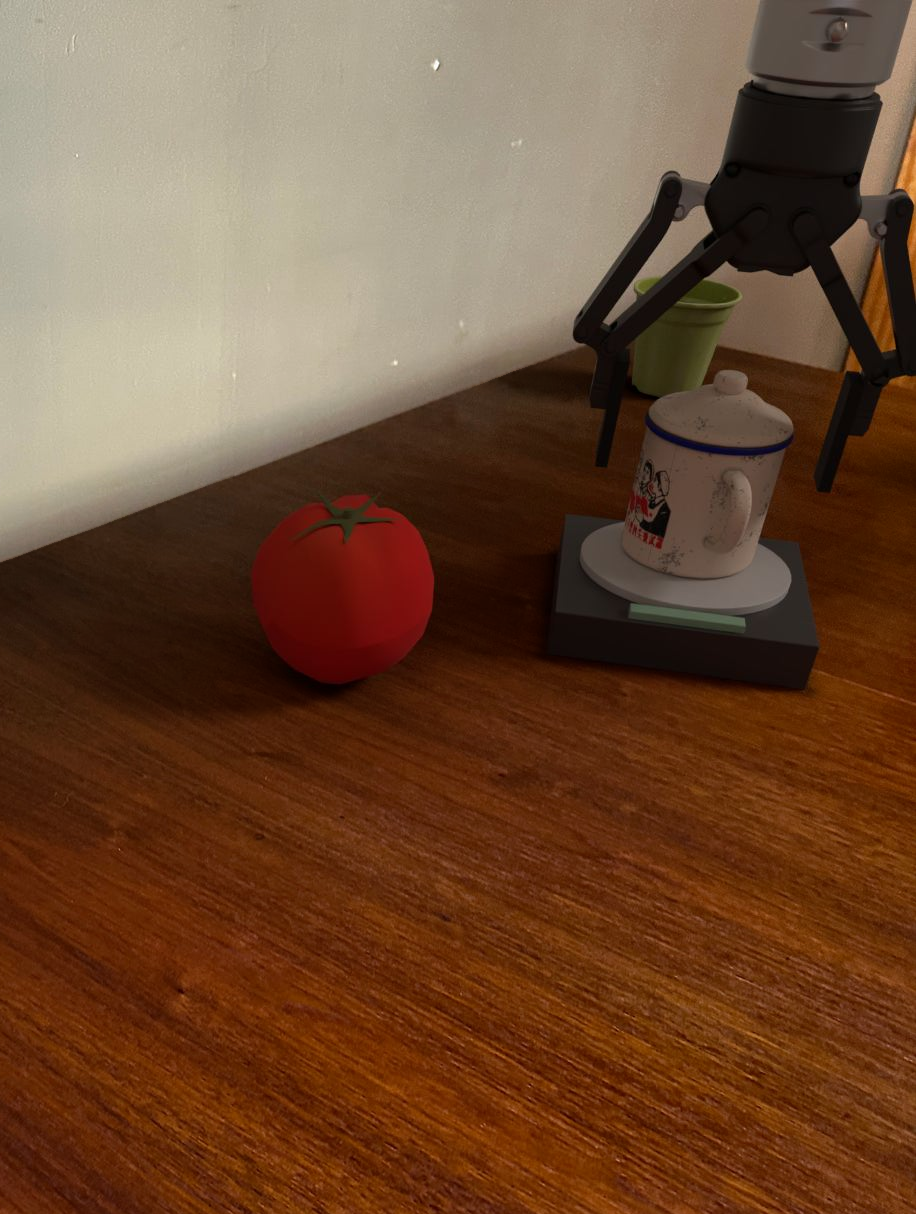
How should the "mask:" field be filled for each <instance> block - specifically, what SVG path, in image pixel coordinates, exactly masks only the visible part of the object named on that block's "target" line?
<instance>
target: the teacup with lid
mask: <svg viewBox="0 0 916 1214" xmlns="http://www.w3.org/2000/svg"><path fill="white" fill-rule="evenodd" d="M748 382H749V378H748V376H747V374H746V373H744V372H742V371H738V370H735V369H722V370H719V371H718V372H717V373H716V374H715V375H714V378H713V382H712V383H710V384H702V385H701V386H700V387H697V388H695V389H693V390H691V391H685V392H678V393H672V394H669V395H666V396H663V397H661V398H660V397H658V399H656V400H655V401H654V402H653V403H652V404H651V406H650V407H649V409H648V411H647V412H646V414H645V417H644V422H645V426H646V430H645V433H644V437H643V442H642V446H641V451H640V455H639V459H638V463H637V466H636V467H637V468H636V470H635V471H636V472H635V477H634V480H633V485H632V489H631V493H630V497H629V502H628V506H627V510H626V515H625V519H624V521H625V523H624V527H623V531H622V535H621V543H622V546H623V548H624V550H625V551H626V553H627V554H628V555H629V556H631V557H632V558H633V559H634V560H636V561H637V562H639V563H641V564H643V565H645V566H647V567H649V568H652V569H654V570H657V571H660V572H664V573H667V574H672V575H676V576H682V577H690V578H720V577H726V576H730V575H734V574H736V573H739V572H741V571H743V570H744V569H745V568H747V567H748V566H749V565H750V563H751V562H752V559H753V557H754V553H755V550H756V547H757V543H758V540H759V538H761V534H762V530H763V526H764V523H765V520H766V516H767V513H768V509H769V506H770V504H771V500H772V496H773V493H774V490H775V487H776V483H777V480H778V477H779V473H780V470H781V466H782V463H783V460H784V457H785V453H786V450H787V448H788V447H789V446H790V445H791V444H792V443H793V440H794V438H795V437H794V436H795V435H794V425H793V422H792V419H791V418H790V417H789V416H788V414H786V413H785V411H783V410H782V409H780V408H778V407H776V406H775V405H773V404H770V403H768V402H765V401H764V400H763V398H761V396H759V395H758V394H757V393H755V392H754V391H752V390H750V389H748V388H747V387H748Z"/></svg>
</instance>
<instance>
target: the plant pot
mask: <svg viewBox="0 0 916 1214" xmlns="http://www.w3.org/2000/svg"><path fill="white" fill-rule="evenodd" d="M663 276H664V275H657V276H649V277H644V278H641V279H639V280H638V279H637V281H635V282H634V284H633V292H634V293H635V295H636V297H635V298H636V299H635V301H636V300H638V299H639V298H640V297H641V296H642V295H643V294H644V293H645V292H646V291H648V290H649V289H650V288H651V287H652V286H653V285H654V284H655V283H656V282H658V281H659V280H660V279H661V278H662V277H663ZM742 298H743V294H742V292H741V291H740V290H739V289H737V288H736V287H734V286H732V285H728V284H726V283H725V282H720V281H717V280H713V279H707V278H704V279H703V280H702V281H701V282H699V283H698V284H697V285H696V286H695V287H694V288H693V289H691V290H690V291H689V292H688V293H687V294H686V295H685V296H683V297H682V298H681V299H680V300H679V301H678V302H677V303H675V304H674V305H673V306H672V307H671V308H670V309H669V310H668V311H666V312H665V313H664V314H663V315H662V316H661V317H660V318H658V319H657V320H656V321H655V322H654V323H653V324H652V325H650V326H649V327H648V328H647V329H646V330H645V331H644V332H642V333H641V334H640V335H639V336H638V337H637V338H636V339H635V343H634V353H633V354H634V355H633V365H632V374H631V375H632V376H631V377H632V378H631V385H632V386H633V387H636V388H637V390H638V392H640V393H641V394H644V395H648V396H652V397H653V396H654V397H657V398H661V397H663V396H666V395H669V394H672V393H678V392H685V391H691V390H693V389H695V388H697V387H700V386H703V382H704V379H705V377H706V374H707V371H708V369H709V366H710V364H711V361H712V359H713V356H714V353H715V350H716V348H717V345H718V343H719V341H720V337H721V335H722V332H723V330H724V328H725V325H726V322H727V321H728V320H729V319H730V317H731V315H732V313H733V311H734V309H735V306H737V305H738V304H739V303H740V302H741V301H742Z"/></svg>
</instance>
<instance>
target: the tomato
mask: <svg viewBox="0 0 916 1214" xmlns="http://www.w3.org/2000/svg"><path fill="white" fill-rule="evenodd" d="M315 492H316V493H317V495H318V496H319V497H320V499H321V501H322V502H311V503H309V504H307V505H305V506H303V507H301V508H299V509H298V510H296V511H294V512H292V513H290V514H289V515H287V516H285V517H284V518H283V520H282V521H281V522H279V523H278V525H277V526H275V528H274V529H273V530H272V531H271V533H270V534H268V536H267V537H266V539H265V540H264V541H263V542H262V543H261V544H260V546H259V548H258V550H257V553H256V556H255V558H254V561H253V564H252V568H251V570H250V586H251V593H252V600H253V608H254V611H255V613H256V615H257V618H258V620H259V623H260V624H261V627H262V629H263V631H264V633H265V635H266V638H267V640H268V643H269V644H270V647H271V648H272V650H273V651H274V652H275V653H276V655H278V657H279V658H280V659H282V660H283V661H284V662H285V663H286V664H287V665H289V667H291V668H292V669H293V670H294V671H297V672H299V673H301V674H303V675H305V676H307V677H309V678H311V679H313V680H315V681H316V682H319V683H322V684H331V685H339V686H340V685H343V684H347V683H351V682H354V681H358V680H360V679H364V678H369V677H373V676H375V675H379V674H382V673H383V672H386V671H387V670H390V668H392V667H393V666H395V665H396V664H398V663H399V662H400V661H402V660H404V658H406V656H407V655H408V654H409V652H410V651H411V650H412V649H413V648H414V646H415V645H416V644H417V643H418V642H419V640H420V639H421V638H422V637H423V635H424V633H425V630H426V628H427V625H428V622H429V619H430V617H431V614H432V612H433V605H434V604H433V603H434V588H435V575H434V571H433V567H432V563H431V559H430V554H429V551H428V549H427V546H426V544H425V542H424V540H423V537H422V536H421V533H420V531H419V530H418V529H417V528H416V527H415V526H414V524H412V522H410V520H409V519H408V518H407V517H405V515H403V514H402V513H400V512H398V511H395V510H394V509H392V508H390V507H379V506H378V505H377V504H376V503H375V501H376V500H377V498H378V497H379V496H380V495H381V494H382V491H380V492H378V493H377V494H376V495H375V496H373V497H372V498H370V497H369V496H368V495H367V494H353V495H352V494H349V495H347V494H346V495H342V496H340V497H339V498H338V499H335V500H334V501H333V502H331V501H330V500H329V499H328V498H326V496H324V494H323V493H322V492H321V491H319V490H315Z"/></svg>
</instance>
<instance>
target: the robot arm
mask: <svg viewBox="0 0 916 1214" xmlns="http://www.w3.org/2000/svg"><path fill="white" fill-rule="evenodd" d="M912 4H913V0H759V3H758V8H757V11H756V16H755V19H754V24H753V27H752V31H751V32H752V33H751V35H750V36H751V37H750V41H749V45H748V48H747V53H746V58H745V61H744V66H745V69H746V70H747V72H748V74H751V75H752V76H753V77H752V79H751V80H750V81H748V82H746V83H744V85H743V87H742V88H740V89H739V90H738V91H737V96H736V101H735V104H734V108H733V112H732V117H731V121H730V124H729V129H728V133H727V138H726V142H725V146H724V151H723V154H722V159H721V163H720V166H719V169H718V171H717V173H716V174H715V176H714V177H713V179H712V180H711V181H710V182H709V183H708V182H702V181H698V180H694V179H689V178H685V177H681V176H682V175H681V174H680V173H679V172H678V171H676V170H668V171H666V172H665V173H663V175H662V176H661V177H660V179H659V181H658V185H657V188H656V192H655V195H654V198H653V201H652V204H651V207H650V210H649V212H648V213H647V215H646V216H645V218H644V219H643V220H642V222H641V224H640V225H639V227H638V228H637V229H636V231H635V232H634V233H633V235H632V236H631V237H630V238H629V240H628V242H627V244H626V245H625V246H624V247H623V249H622V250H621V252H620V254H618V256H617V258H616V259H615V260H614V262H613V263H612V265H611V266H610V268H609V269H608V270H607V272H606V273H605V274H604V276H603V277H602V279H601V280H600V281H599V283H598V285H597V286H596V287H595V289H594V290H593V292H592V293H591V295H590V296H589V298H587V300H586V301H585V303H584V305H583V306H582V307H581V309H579V311H578V313H577V315H576V316H575V318H574V320H573V326H572V339H573V340H574V341H575V343H577V344H580V345H582V344H584V345H586V346H588V347H589V348H591V349H593V350H594V351H595V354H596V361H595V365H594V371H593V376H592V379H591V384H590V385H591V386H590V390H589V405H590V409H597V410H598V409H599V410H604V412H603V416H602V421H601V426H600V430H599V434H598V440H597V444H596V449H595V457H594V459H595V461H594V467H597V468H605V469H607V468H608V465H609V459H610V455H611V451H612V446H613V442H614V437H615V434H616V433H615V432H616V429H617V423H618V419H619V414H620V410H621V405H622V400H623V397H624V393H625V386H626V382H627V378H628V373H629V369H630V364H631V348H627V347H628V346H629V345H631V343H633V341H634V340H636V338H637V337H638V336H639V335H640V334H641V333H642V332H644V331H645V330H646V329H647V328H648V327H649V326H650V325H652V324H653V323H654V322H655V321H656V320H657V319H658V318H660V317H661V316H662V315H663V314H664V313H665V312H666V311H668V310H669V309H670V308H671V307H672V306H673V305H674V304H675V303H677V302H678V301H679V300H680V299H681V298H682V297H683V296H685V295H686V294H687V293H688V292H689V291H690V290H691V289H693V288H694V287H695V286H696V285H697V284H698V283H699V282H701V281H702V280H703V279H707V278H709V277H710V276H711V275H713V274H714V273H715V272H716V271H717V270H719V269H720V268H721V267H722V266H723V265H724V264H725V263H726V262H727V264H729V266H731V267H733V268H734V269H736V271H737V272H738V273H747V274H752V273H758V272H763V271H767V272H770V273H772V274H775V275H777V276H781V277H782V276H783V277H794V274H798V273H801V272H803V271H805V270H807V269H809V268H811V269H812V270H811V271H813V273H814V276H815V278H816V280H817V283H818V284H819V286H820V288H821V290H822V291H823V294H824V295H825V297H826V299H827V301H828V303H829V306H830V307H831V310H832V312H833V313H834V316H835V317H836V320H837V321H838V324H839V325H840V328H841V329H842V332H843V333H844V335H845V338H846V340H847V342H848V344H849V345H850V348H851V350H852V352H853V354H854V356H855V358H856V360H857V362H858V364H859V366H860V368H861V371H856V370H846V371H845V374H844V376H843V377H844V378H843V380H842V384H841V386H840V390H839V393H838V396H837V399H836V402H835V404H834V405H835V406H834V409H833V412H832V415H831V418H830V422H829V425H828V428H827V431H826V434H825V437H824V441H823V443H822V447H821V450H820V452H819V456H818V459H817V463H816V466H815V469H814V472H813V476H812V477H813V481H814V485H815V488H816V492H817V493H822V494H823V493H824V494H831V491H832V488H833V485H834V482H835V479H836V476H837V472H838V469H839V467H840V463H841V460H842V457H843V454H844V451H845V447H846V445H847V443H848V438H849V436H851V437H860V438H862V437H864V436H865V434H867V432H868V431H869V430H870V427H871V424H872V421H873V418H874V415H875V412H876V409H877V406H878V403H879V401H880V397H881V394H882V391H883V389H884V388H885V387H886V386H888V385H889V383H890V381H891V380H893V379H896V378H900V377H904V376H907V377H909V378H912V377H916V294H915V293H916V292H915V287H914V286H915V285H914V279H913V272H912V264H911V260H910V259H911V258H910V253H909V247H908V240H909V237H910V230H911V226H912V222H913V216H914V211H915V203H914V201H913V199H912V198H911V196H910V195H909V193H908V191H906V190H905V189H904V188H900V187H899V188H895V189H893V190H891V191H889V193H888V194H874V195H873V194H872V195H861V182H862V181H861V180H862V176H863V173H864V170H865V165H866V162H867V159H868V156H869V153H870V149H871V145H872V143H873V139H874V136H875V132H876V128H877V126H878V122H879V119H880V114H881V111H882V108H883V105H884V102H883V101H882V100H881V98H882V97H881V94H879V93H878V92H877V91H876V88H877V86H881V85H883V84H884V83H886V82H887V81H888V80H890V79H891V77H892V74H893V71H894V67H895V64H896V60H897V57H898V54H899V50H900V46H901V42H902V39H903V35H904V32H905V28H906V25H907V21H908V18H909V15H910V11H911V7H912ZM700 206H701V207H703V209H704V212H705V215H706V217H707V219H708V222H709V224H710V227H711V231H709V232H708V233H707V234H706V235H705V236H704V237H703V238H701V240H700V241H698V242H697V243H696V244H695V245H694V246H693V248H692V249H691V250H690V252H689V253H688V254H686V255H685V256H684V257H683V258H682V259H681V260H680V261H678V262H677V263H676V264H675V265H674V266H673V267H672V268H671V269H670V270H669V271H667V272H666V273H665V274H664V275H662V276H663V277H662V278H661V279H660V280H659V281H658V282H656V283H655V284H654V285H653V286H652V287H651V288H650V289H649V290H648V291H646V292H645V293H644V294H643V295H642V296H641V297H640V298H639V299H638V300H636V299H635V301H634V302H633V303H632V304H631V305H629V307H627V308H626V309H625V310H624V311H623V312H622V313H620V314H619V315H618V316H617V317H616V318H615V319H614V320H613V321H611V322H610V324H607V323H605V322H604V321H605V320H606V319H607V318H608V316H609V314H610V313H611V312H612V310H613V309H614V308H615V306H616V305H617V303H618V302H619V301H620V299H621V298H622V297H623V295H624V293H626V291H627V289H628V288H629V286H630V285H631V284H632V282H633V281H634V280H635V278H636V277H637V276H638V274H639V272H640V271H641V270H642V268H643V267H644V266H645V265H646V263H647V261H649V259H650V257H651V256H652V255H653V253H654V252H655V250H656V249H657V247H658V246H659V245H660V244H661V242H662V241H663V239H664V238H665V236H666V234H667V233H668V231H669V229H670V227H671V225H672V222H675V223H679V222H682V221H684V220H685V219H686V218H687V217H688V215H689V213H691V211H692V210H693V209H694V208H696V207H700ZM858 220H863V221H865V222H866V224H867V225H866V227H867V231H868V233H869V235H870V236H871V238H873V239H875V240H878V245H879V246H878V248H879V253H880V260H881V266H882V272H883V279H884V284H885V290H886V298H887V303H888V308H889V315H890V316H889V317H890V320H891V328H892V333H893V340H894V345H895V346H894V347H895V349H890V350H886V351H881V348H880V347H879V345H878V342H877V340H876V338H875V336H874V334H873V331H872V330H871V328H870V326H869V324H868V321H867V320H866V318H865V316H864V313H863V312H862V311H863V310H862V309H861V306H860V305H859V303H858V301H857V299H856V297H855V295H854V293H853V291H852V289H851V286H850V284H849V282H848V280H847V278H846V277H845V274H844V271H843V270H842V268H841V266H840V264H839V262H838V259H837V257H836V256H835V253H834V251H833V250H832V246H833V245H834V244H835V243H836V242H837V241H838V240H839V239H840V238H841V237H842V236H843V235H844V234H845V233H846V232H848V231H849V230H850V229H851V228H852V227H853V226H854V225H855V224H856V223H857V221H858Z"/></svg>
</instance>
